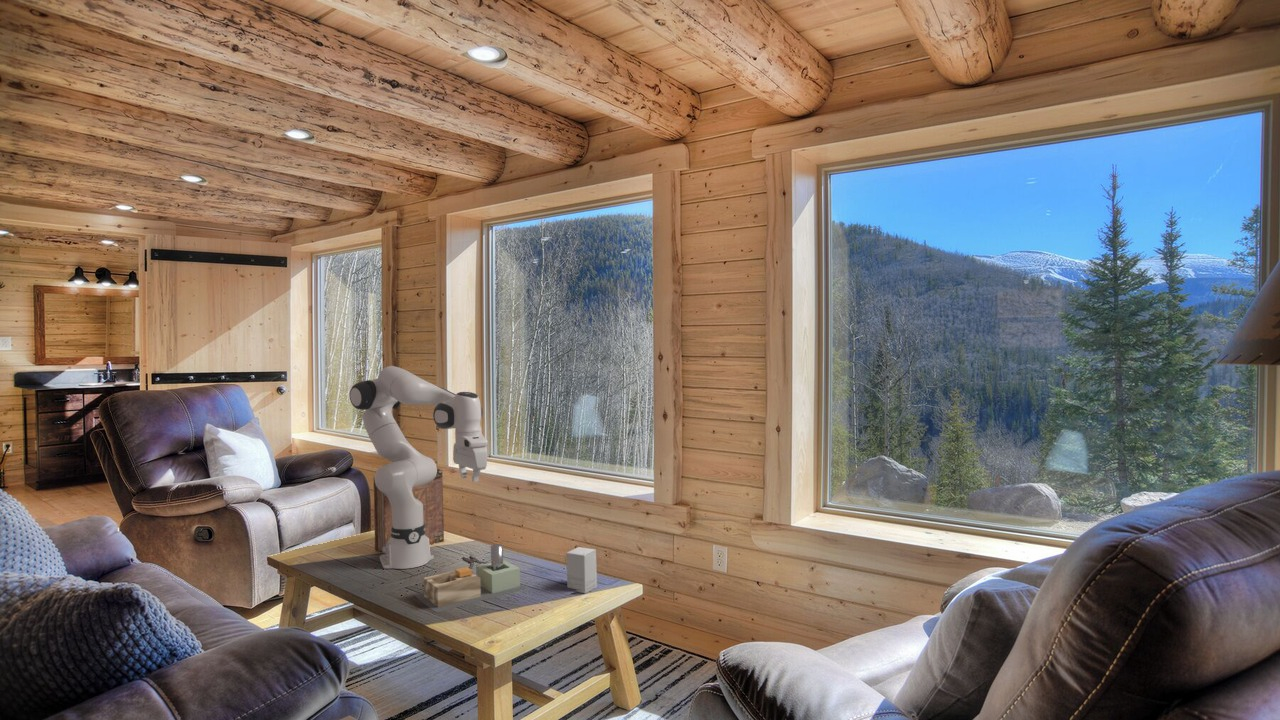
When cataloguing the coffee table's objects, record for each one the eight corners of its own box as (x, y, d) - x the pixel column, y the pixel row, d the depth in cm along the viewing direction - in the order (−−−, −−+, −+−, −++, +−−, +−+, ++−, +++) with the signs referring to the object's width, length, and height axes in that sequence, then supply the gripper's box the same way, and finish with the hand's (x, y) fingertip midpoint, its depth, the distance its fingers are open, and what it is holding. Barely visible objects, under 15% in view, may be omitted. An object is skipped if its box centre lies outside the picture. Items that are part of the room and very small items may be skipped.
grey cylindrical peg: (489, 581, 227) (488, 545, 227) (500, 578, 230) (499, 543, 229) (494, 584, 224) (493, 548, 224) (505, 581, 226) (505, 546, 226)
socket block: (423, 596, 217) (423, 577, 217) (465, 586, 226) (464, 568, 226) (438, 607, 208) (437, 588, 208) (480, 596, 216) (480, 577, 216)
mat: (414, 597, 219) (413, 594, 219) (501, 576, 238) (501, 573, 238) (436, 615, 204) (436, 612, 204) (528, 591, 223) (527, 588, 223)
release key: (455, 586, 219) (455, 569, 219) (467, 583, 222) (466, 566, 222) (460, 589, 216) (460, 572, 216) (472, 586, 219) (472, 569, 219)
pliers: (478, 572, 241) (447, 561, 254) (478, 575, 241) (447, 563, 254) (500, 566, 248) (469, 555, 261) (500, 568, 248) (469, 557, 261)
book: (385, 555, 264) (383, 479, 264) (374, 550, 271) (372, 476, 270) (444, 541, 282) (442, 469, 282) (433, 537, 289) (431, 467, 288)
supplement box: (597, 586, 226) (597, 549, 225) (584, 594, 219) (584, 555, 219) (579, 583, 229) (578, 546, 229) (566, 590, 223) (565, 552, 223)
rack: (476, 583, 228) (476, 565, 228) (503, 576, 234) (503, 559, 234) (492, 593, 219) (491, 574, 219) (520, 586, 225) (519, 568, 225)
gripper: (448, 437, 239) (449, 476, 239) (472, 443, 223) (473, 485, 223) (465, 435, 243) (465, 474, 243) (490, 441, 226) (491, 482, 227)
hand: (469, 479), depth 233 cm, fingers open, 8 cm apart
